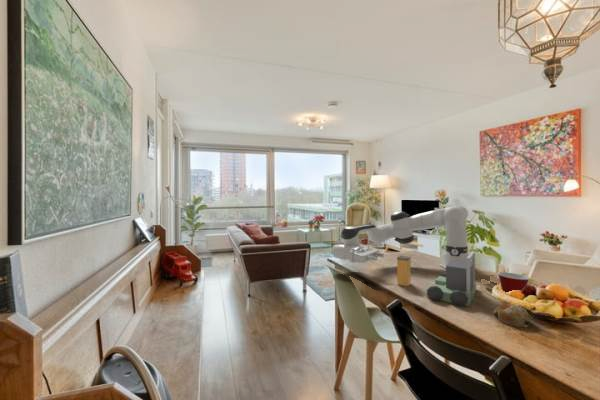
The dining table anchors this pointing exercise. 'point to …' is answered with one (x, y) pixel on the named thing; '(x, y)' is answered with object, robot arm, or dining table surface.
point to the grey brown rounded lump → (512, 315)
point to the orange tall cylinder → (403, 271)
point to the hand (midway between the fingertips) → (380, 257)
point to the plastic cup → (512, 281)
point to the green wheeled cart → (455, 283)
